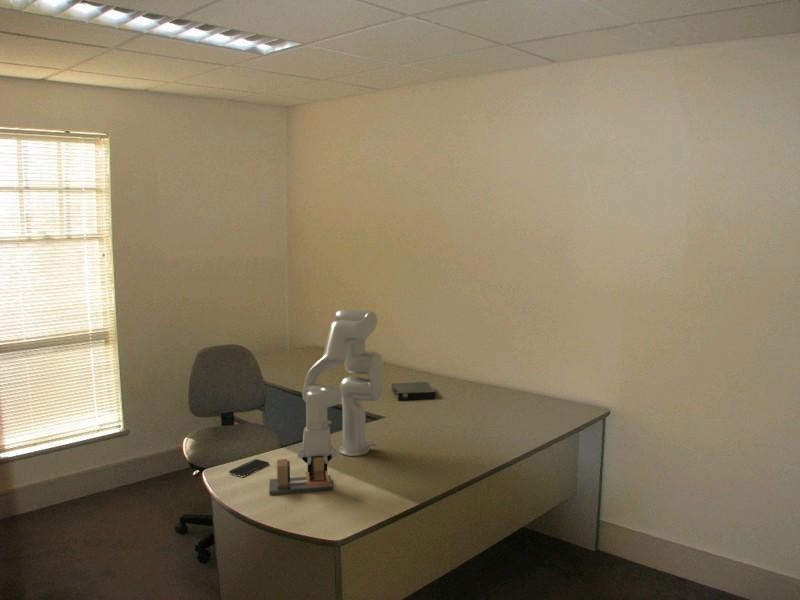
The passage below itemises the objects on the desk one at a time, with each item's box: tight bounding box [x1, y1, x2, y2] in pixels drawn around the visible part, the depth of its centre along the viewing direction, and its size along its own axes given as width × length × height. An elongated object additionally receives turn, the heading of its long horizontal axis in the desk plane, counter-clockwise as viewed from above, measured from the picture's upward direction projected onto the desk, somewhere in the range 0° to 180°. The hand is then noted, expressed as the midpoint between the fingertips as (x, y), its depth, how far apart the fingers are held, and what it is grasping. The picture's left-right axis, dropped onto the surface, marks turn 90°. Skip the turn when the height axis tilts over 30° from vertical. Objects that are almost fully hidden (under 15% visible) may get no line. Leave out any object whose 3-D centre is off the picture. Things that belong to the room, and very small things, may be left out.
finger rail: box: [268, 458, 333, 496], centre depth 224 cm, size 22×10×10 cm, turn 101°
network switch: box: [391, 381, 437, 402], centre depth 344 cm, size 23×23×5 cm
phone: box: [228, 458, 270, 476], centre depth 240 cm, size 8×1×15 cm
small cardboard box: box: [311, 456, 324, 480], centre depth 224 cm, size 6×4×8 cm
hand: (317, 472), depth 225 cm, fingers closed on small cardboard box, 4 cm apart
